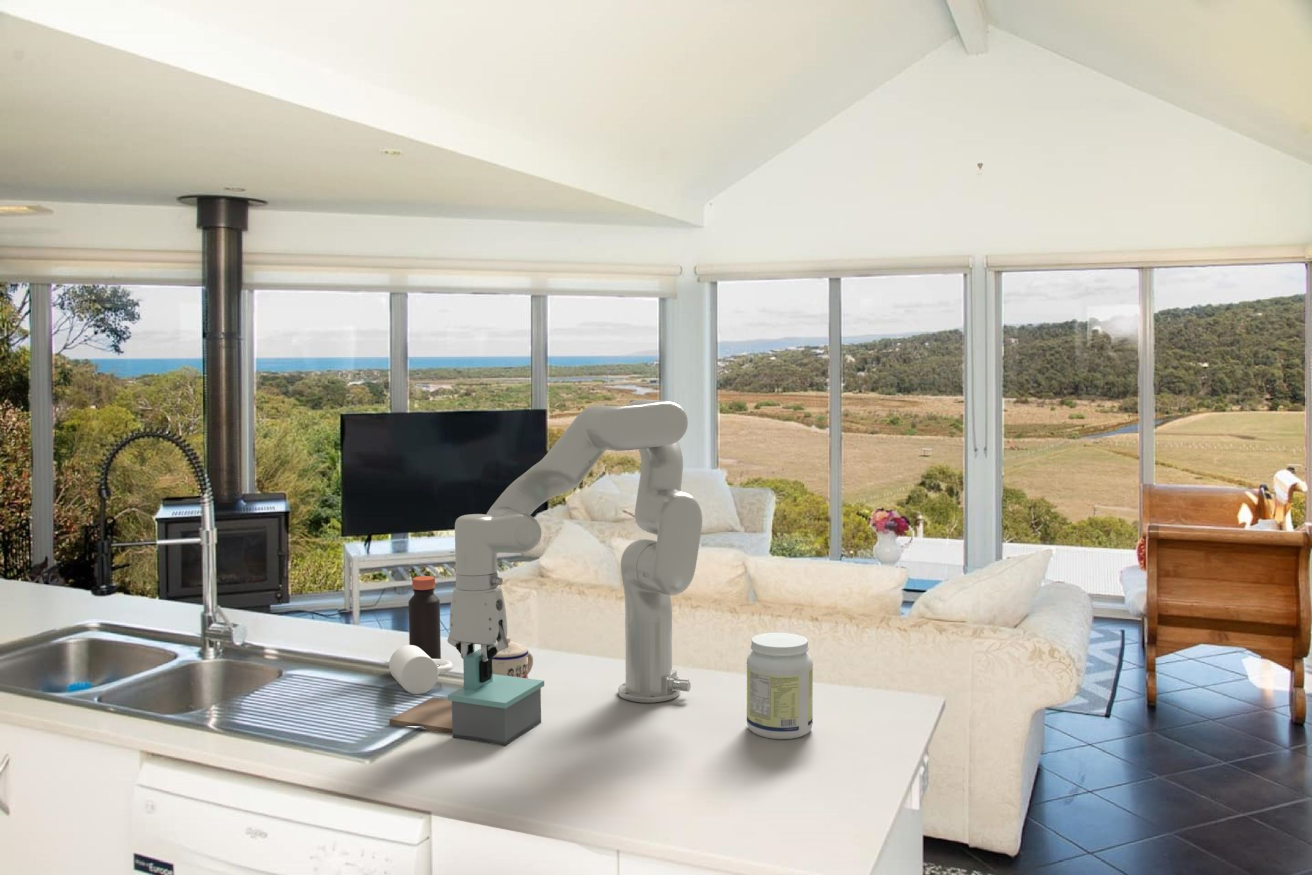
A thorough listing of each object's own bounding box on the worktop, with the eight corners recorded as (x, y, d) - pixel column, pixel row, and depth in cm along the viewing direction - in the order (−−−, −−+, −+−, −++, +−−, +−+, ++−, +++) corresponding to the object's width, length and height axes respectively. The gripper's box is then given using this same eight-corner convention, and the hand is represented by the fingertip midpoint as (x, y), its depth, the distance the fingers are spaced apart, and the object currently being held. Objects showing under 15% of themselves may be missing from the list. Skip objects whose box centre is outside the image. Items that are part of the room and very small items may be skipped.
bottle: (447, 664, 237) (445, 576, 235) (428, 672, 230) (426, 582, 229) (422, 660, 239) (420, 574, 238) (403, 668, 233) (401, 579, 232)
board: (493, 710, 205) (493, 705, 205) (452, 734, 192) (452, 728, 192) (433, 701, 210) (433, 696, 210) (389, 724, 197) (389, 718, 197)
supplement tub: (774, 713, 202) (774, 627, 201) (826, 729, 194) (826, 639, 192) (732, 729, 194) (732, 639, 193) (784, 746, 185) (785, 652, 184)
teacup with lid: (506, 702, 210) (505, 645, 209) (474, 694, 215) (473, 638, 214) (547, 687, 219) (547, 632, 218) (516, 679, 225) (516, 626, 224)
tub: (541, 722, 198) (540, 686, 197) (505, 745, 186) (504, 707, 185) (490, 715, 202) (490, 679, 202) (452, 737, 190) (451, 699, 190)
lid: (544, 691, 198) (543, 649, 197) (505, 715, 185) (504, 669, 184) (489, 684, 202) (488, 642, 202) (448, 706, 190) (447, 662, 189)
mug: (400, 697, 214) (400, 658, 213) (389, 684, 222) (388, 647, 222) (458, 688, 219) (457, 650, 219) (444, 676, 228) (443, 639, 227)
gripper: (524, 581, 194) (526, 678, 195) (451, 574, 200) (453, 669, 202) (503, 589, 187) (505, 690, 188) (428, 582, 193) (430, 680, 195)
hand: (478, 678), depth 195 cm, fingers closed on lid
